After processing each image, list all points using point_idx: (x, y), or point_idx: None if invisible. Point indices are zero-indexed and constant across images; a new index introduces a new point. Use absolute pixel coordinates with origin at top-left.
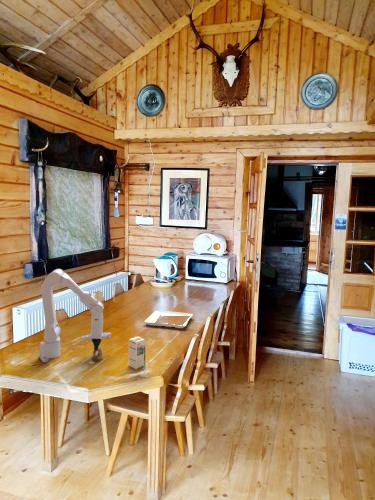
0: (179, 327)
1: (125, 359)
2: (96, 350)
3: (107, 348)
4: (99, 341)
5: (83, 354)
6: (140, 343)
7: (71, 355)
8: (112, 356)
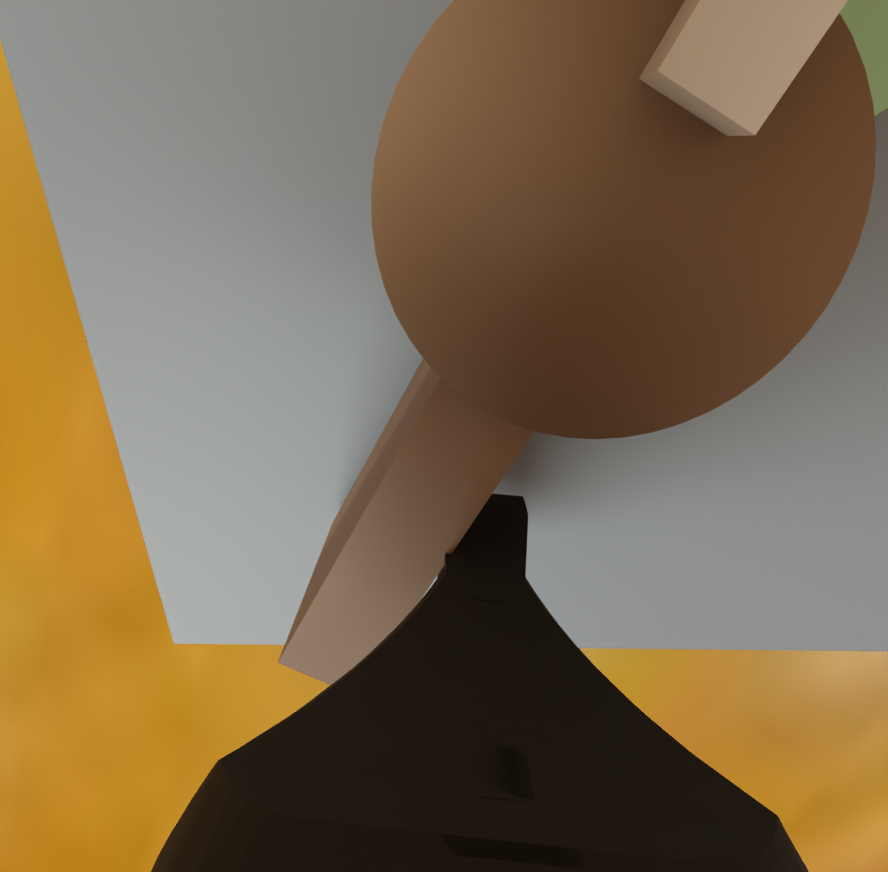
0: None
1: None
2: (603, 372)
3: (118, 730)
4: (343, 813)
5: (640, 707)
6: None
7: (856, 763)
8: (79, 329)
